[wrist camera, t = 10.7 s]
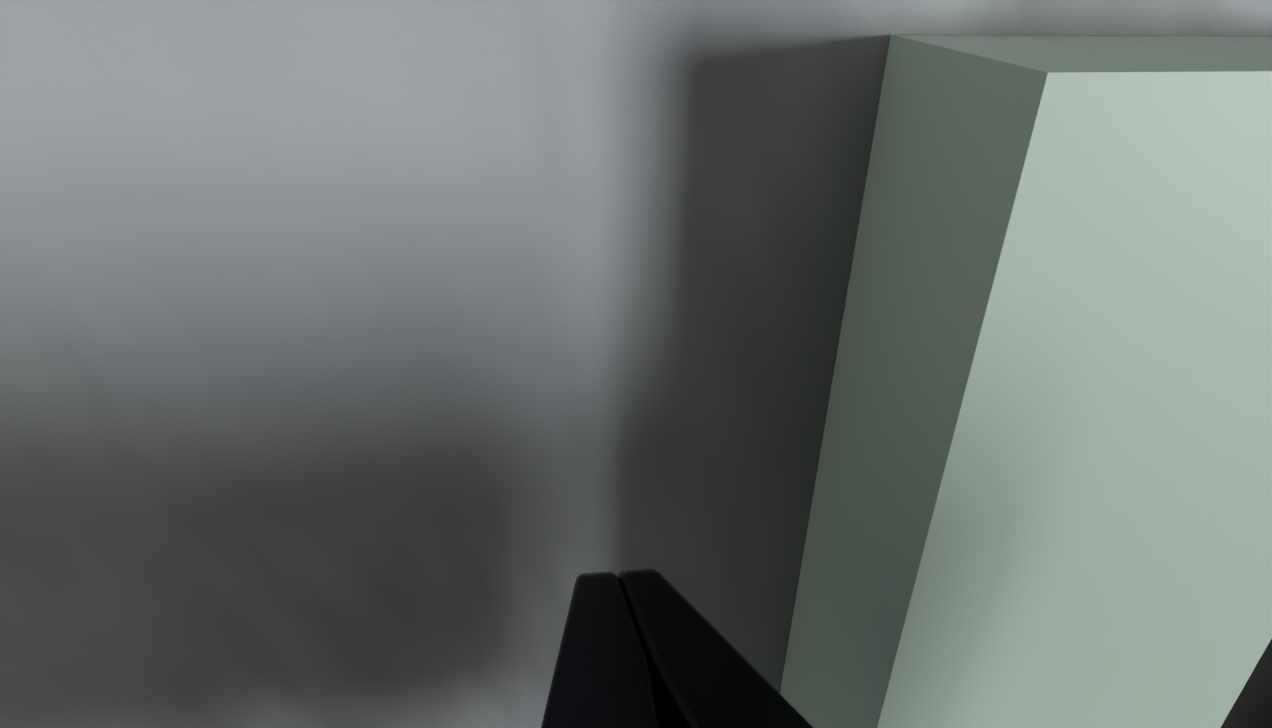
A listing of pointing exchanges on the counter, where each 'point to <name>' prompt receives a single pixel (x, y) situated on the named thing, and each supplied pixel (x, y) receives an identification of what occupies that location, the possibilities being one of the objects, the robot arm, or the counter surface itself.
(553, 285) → the counter surface
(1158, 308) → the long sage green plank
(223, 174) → the counter surface
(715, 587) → the counter surface
